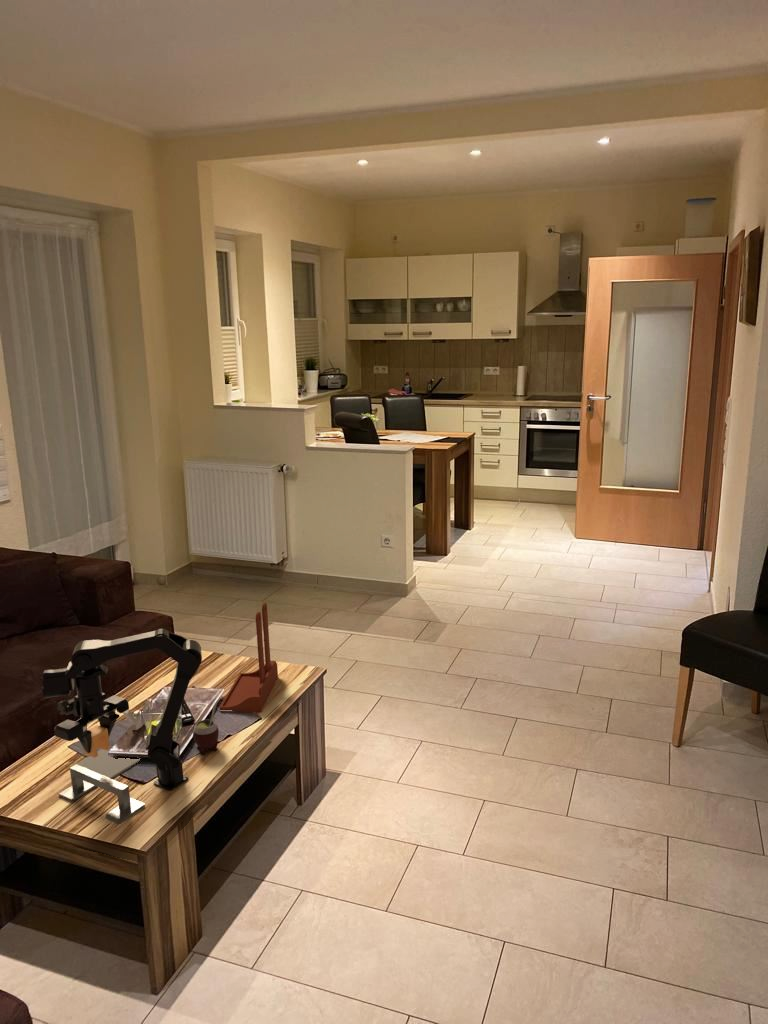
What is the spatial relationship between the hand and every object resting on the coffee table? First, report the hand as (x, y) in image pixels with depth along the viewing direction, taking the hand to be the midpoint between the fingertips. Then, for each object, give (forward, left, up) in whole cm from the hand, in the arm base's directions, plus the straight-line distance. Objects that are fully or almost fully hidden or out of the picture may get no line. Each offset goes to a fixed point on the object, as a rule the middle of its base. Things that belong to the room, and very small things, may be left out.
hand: (96, 747), depth 196 cm
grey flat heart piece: (+18, -26, -13) cm, 35 cm away
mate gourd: (-9, -29, -13) cm, 33 cm away
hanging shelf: (+3, -61, -13) cm, 62 cm away
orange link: (0, 0, -1) cm, 1 cm away
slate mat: (+10, -9, -13) cm, 19 cm away
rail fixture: (-3, +3, -13) cm, 14 cm away
